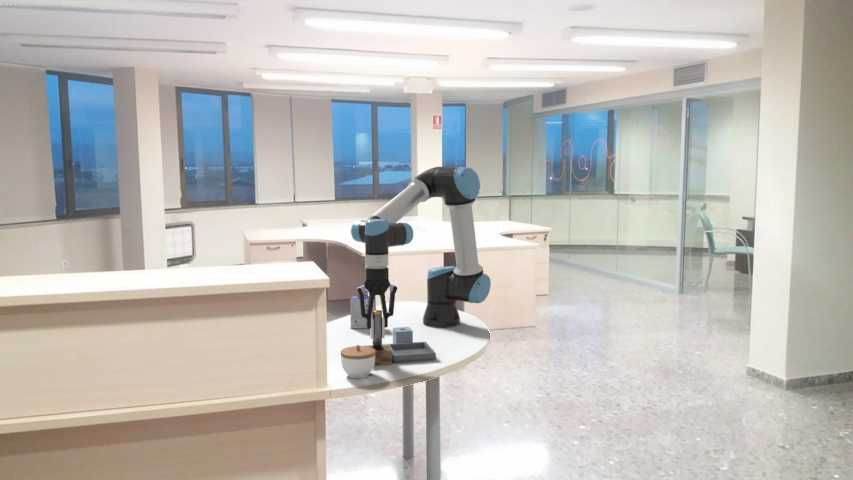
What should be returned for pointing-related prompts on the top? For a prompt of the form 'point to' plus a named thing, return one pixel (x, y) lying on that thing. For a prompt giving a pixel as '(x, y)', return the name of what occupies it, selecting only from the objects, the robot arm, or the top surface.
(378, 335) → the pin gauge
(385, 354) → the go block
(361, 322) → the ink cartridge box
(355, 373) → the lidded jar
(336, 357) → the top surface
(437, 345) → the top surface
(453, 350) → the top surface
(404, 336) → the block
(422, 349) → the tray
